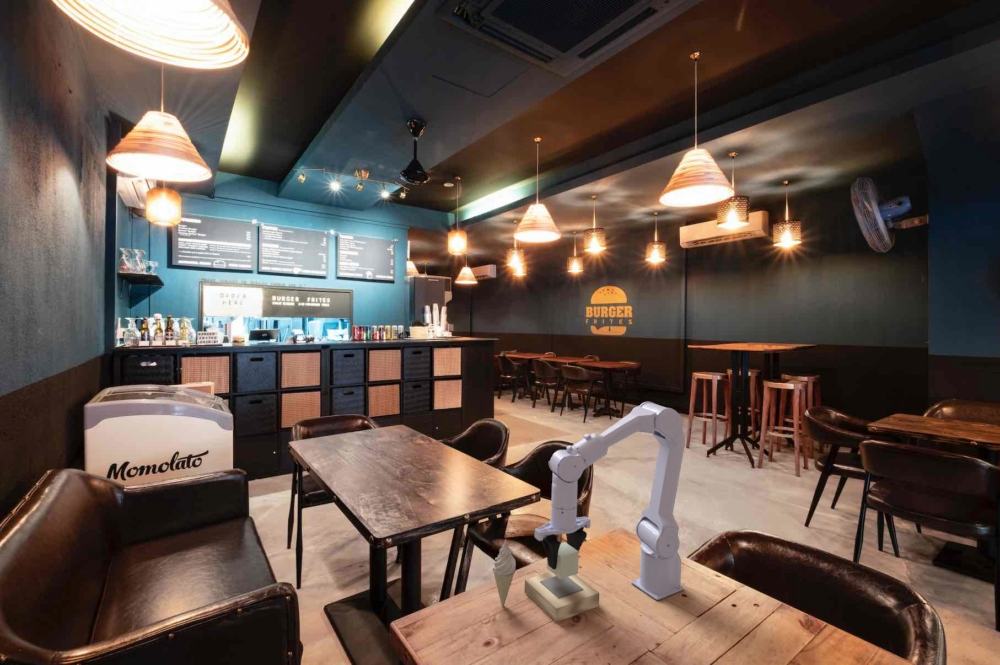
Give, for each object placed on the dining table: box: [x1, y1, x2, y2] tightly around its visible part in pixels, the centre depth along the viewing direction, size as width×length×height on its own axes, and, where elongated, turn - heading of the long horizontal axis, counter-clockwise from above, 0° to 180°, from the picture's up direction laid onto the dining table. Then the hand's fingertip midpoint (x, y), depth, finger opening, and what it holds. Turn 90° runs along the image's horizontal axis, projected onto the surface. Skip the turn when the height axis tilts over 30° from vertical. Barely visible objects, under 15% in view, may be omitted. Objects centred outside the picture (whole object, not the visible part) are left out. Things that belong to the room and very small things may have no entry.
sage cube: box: [546, 541, 580, 579], centre depth 102 cm, size 5×5×5 cm
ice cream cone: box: [492, 538, 517, 607], centre depth 99 cm, size 5×5×15 cm
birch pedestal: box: [523, 571, 600, 623], centre depth 103 cm, size 12×12×3 cm
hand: (562, 564), depth 102 cm, fingers closed on sage cube, 5 cm apart
